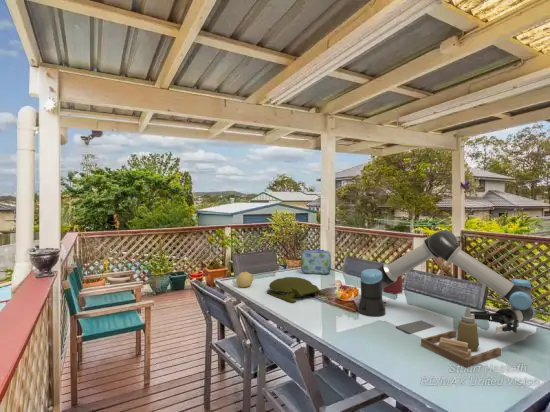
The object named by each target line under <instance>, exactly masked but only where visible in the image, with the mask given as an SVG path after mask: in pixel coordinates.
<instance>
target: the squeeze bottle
mask: <svg viewBox="0 0 550 412" xmlns="http://www.w3.org/2000/svg"><path fill="white" fill-rule="evenodd" d="M470 311H471V309H470V307H466V309H465V312H464V314H463V315H461V319H460V320H458V321H459V322H458V327H457V329H458V330H457V334H456V341H461V342H466V343H468V349H470V350H471V352H477V350H478V348H479V346H480V341H479V332H478V323H476V322H475V320H474V317H473V316H471V312H470Z"/></svg>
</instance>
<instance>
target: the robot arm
mask: <svg viewBox="0 0 550 412" xmlns="http://www.w3.org/2000/svg"><path fill="white" fill-rule="evenodd" d="M433 258H435V259H438V258H441V259H442V260H444V261H445V262H447V263H448V262H449V263H452V264H453V265H455V266H456V267H458V268H460V269H461V270H463V272H466V273H467V274H468V275H470V276H471V277H472V278H474V279H475V280H477V281H479V282H480V283H481V284H483V285H485V286H486V287H487V288H489V289H490V290H492V291H493V292H495V293H496V294H497V295H499V296H500V297H502V298H504V299H505V300H507V301H508V302H509V304H510V306H507V307H504V308H503V307H502V308H500V309H497V311H496V312H493V313H492V312H490V311H489V310H485V311H482V310H481V311H475V310H474V311H471V310H470V312H471V316H473V317H474V321H475V320H482V321H488V322H494V323H497V324H500V325H497V326H495V334H497V335H498V334H501V333H504V332H513V333H515V334H516V333H518V327H520V323H523V322H528V321H530V320H532V319H534V318H535V317H536V311H535V309H534V307H533V306H532V302H533V300H532V299H533V298H532V283H531V281H529V280H526V279H521V278H520V279H519V278H514V279H511V280H509V279H506V278H505V277H504V276H502V275H500V273H498V272H496V271H494V270H493V269H491V268H490V267H489V266H487V265H485V264H483V263H482V262H480V260H478V259H476V258H475V257H473V256H471V255H470V254H468V253H467V252H465V251H464V250H462V249H461V246H460V245H458V239H457V236H456V235H455V234H454V233H453V232H452V231H449V230H446V229H442V230H438V231H436V232H433V233H432V234H431V235H430V236H428V237H427V238H425V239H424V240H423V243H422V244H421V245H419V246H416V248H414V249H413V250H411V251H409V252H407V253H406V254H403V256H401V257H399V258H398V259H395V260H394V261H392V262H390V263H383V264H382V265H380V266H378V267H377V268H368V269H367V268H366V269H364V270H362V271H361V272H360V273H361V274H360V299H359V302H358V305H357V312H358V313H359V314H362V315H365V316H368V317H382V316H385V315H386V307H385V304H384V300H383V288H385V287H387V286H389V285H390V284H392V283H394V282H396V281H397V277H399V276H401V275H405V273H408V272H409V271H411V270H413V269H415V268H417V267H419V266H421V265H422V264H424V263H425V262H428V261H429V260H431V259H433Z"/></svg>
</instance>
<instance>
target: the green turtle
mask: <svg viewBox="0 0 550 412" xmlns="http://www.w3.org/2000/svg"><path fill="white" fill-rule="evenodd" d="M268 288H270V289H269V290H268V289H267V291H266V293H267V294H269V295H270V296H273V297H275V298H277V299H280V300H282V301H285V302H288V303H289V304H296V302H297V299H296V298H299V297H304V296H308V295H312V294H313V295H314V294H315V295H318V294H319V295H318V296H321V295H323V296H326V292H325V291H322V290H320V289H319V287H318V286H317V285H316V284H313V283H312V282H311V281H310V280H308V279H305V278H302V277H295V276H286V277H281V278H276V279H274V280H272V281H271V282H270V283H269V285H268ZM283 293H287V294H283ZM294 297H295V298H294Z"/></svg>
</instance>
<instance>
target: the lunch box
mask: <svg viewBox="0 0 550 412" xmlns="http://www.w3.org/2000/svg"><path fill="white" fill-rule="evenodd" d="M300 259H301V260H300V269H301V272H302V273H303V274H307V275H309V274H310V275H328V274H330V272H331V270H332V268H331V267H332V256H331V252H330V251H329V250H324V249H304V250H303V251H302V253H301V256H300Z"/></svg>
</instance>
